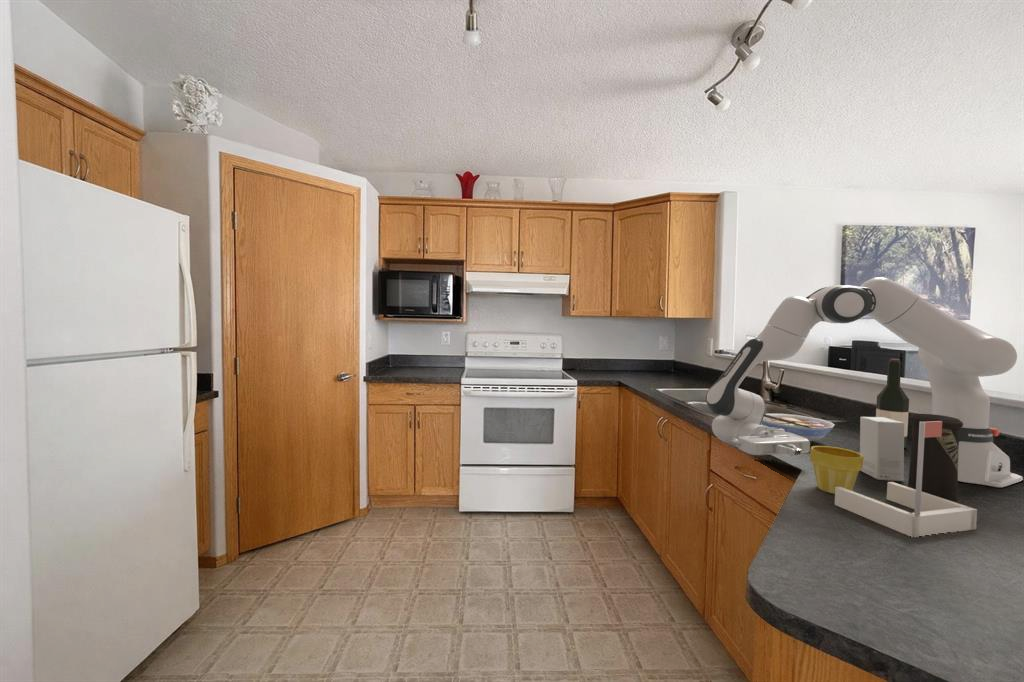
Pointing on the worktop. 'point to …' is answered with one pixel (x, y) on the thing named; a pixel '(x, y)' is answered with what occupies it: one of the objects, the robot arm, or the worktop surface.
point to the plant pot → (835, 467)
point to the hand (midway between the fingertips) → (797, 452)
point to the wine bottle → (894, 398)
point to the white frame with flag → (912, 502)
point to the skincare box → (882, 448)
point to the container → (936, 457)
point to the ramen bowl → (799, 425)
